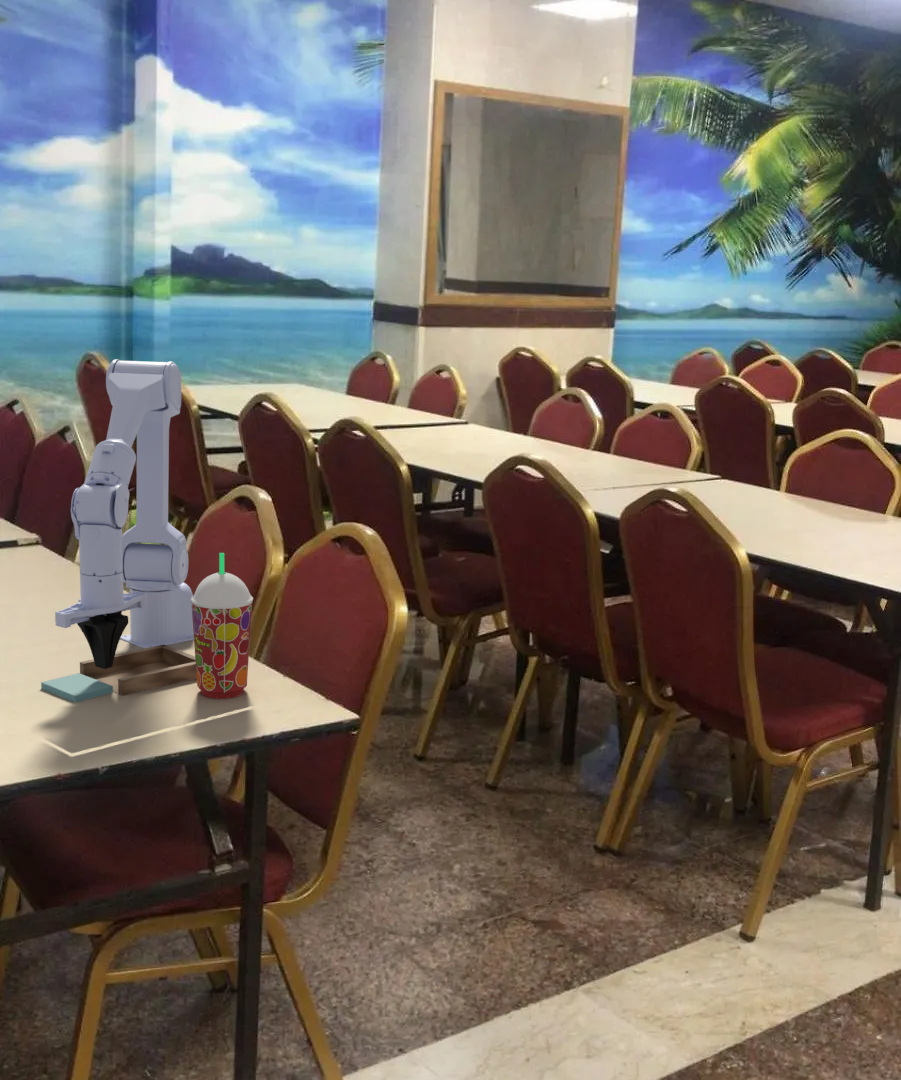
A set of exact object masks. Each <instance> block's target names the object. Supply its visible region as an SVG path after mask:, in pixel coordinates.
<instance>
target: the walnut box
mask: <svg viewBox="0 0 901 1080" xmlns="http://www.w3.org/2000/svg"><path fill="white" fill-rule="evenodd" d="M79 673H80V674H82V675H85V676H88V677H90V678H93V679H96V680H98V681H101V682H103V683H106V684H109V685H111V686H113V693H115V694H117V695H120V696H127V695H132V694H135V693H140V692H144V691H148V690H149V691H150V690H153V689H157V688H161V687H165V686H169V685H173V684H174V685H175V684H178V683H181V682H187V681H191V680H195V679H197V674H196V660H195V655H192V654H191V653H187V652H184V651H182V650H179V649H176V648H174V647H172V646H170V645H159V646H154V647H150V648H145V649H144V648H141V649H136V650H135V649H134V650H131V651H127V652H122V653H117V654H116V653H115V657H114V661H113V665H112V667H110V668H107V669H103V668H99V667H96V666H95V662H94V659H88V660H84V661H80V662H79Z"/></svg>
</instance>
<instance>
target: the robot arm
mask: <svg viewBox="0 0 901 1080" xmlns="http://www.w3.org/2000/svg"><path fill="white" fill-rule="evenodd" d="M179 368H180V367H178V365H177V364H176V363H175V361H171V360H170V361H145V360H144V361H142V360H140V361H139V360H121V359H118V358H117V359H113V360H112V361H111V362H110V363H109V365H108V367H107V369H106V374H105V375H106V376H105V388H106V392H107V395H108V397H109V402H110V405H111V406H112V408H111V413H110V419H109V422H108V423H109V424H108V427H107V428H108V429H107V434H106V438H105V440H102V441H101V442H98V444H96V445H95V448H94V451H93V454H92V458H91V461H90V463H89V468H88V469H87V473H86V475H85V479H84V482H83V484H82V485H81V486H80V487H77V488H75V489H74V491H73V493H72V497H71V502H70V503H71V504H70V516H71V521H72V523H73V527H74V536H75V539H77V540H78V545H79V546H78V550H79V551H78V552H79V556H78V557H79V559H78V560H79V581H80V582H79V584H80V585H79V587H80V598H78V602H76V603H74V604H72V605H70V606H68V607H66V608H63V609H61V610H57V611H55V612H54V615H55V616H54V617H55V619H54V620H55V627H60V628H62V629H63V628H64V629H67V628H71V627H72V626H73V625H76V624H77V626H78V627H79V628H80V630H81V632H82V633H83V636H84V637H85V639H86V641H87V644H88V646H89V649H90V652H91V655H92V658H93V659H94V662H95V666H96V667H99V668H103V669H107V668H110V667H112V665H113V661H114V657H115V655H116V652H117V649H118V646H119V642H120V640H122V641H124V642H127V643H129V644H131V645H134V646H136V647H139V648H141V649H145V648H150V647H154V646H159V645H167V646H170V645H175V644H179V643H184V642H188V641H189V642H190V641H194V632H193V619H192V603H191V598H192V596H194V594H193V592H192V591H193V590H192V589H191V587H190V586H189V585H188V584H187V583H186V582H185V581H186V579H187V577H188V571H189V554H188V550H187V549H188V548H187V547H188V546H187V539H186V536H185V535H184V533H182V532H181V531H180V530H178V529H177V528H175V527H174V526H173V525H172V524H171V523H170V522H169V478H170V477H169V471H170V470H169V469H170V466H169V463H170V462H169V461H170V459H169V457H170V453H169V452H170V451H169V449H170V448H169V447H170V441H169V440H170V424H171V418H173V417H175V416H177V415H180V414H181V407H182V375H181V372H180V369H179ZM135 440H136V453H135V451H134V449H133V448H132V447H133V445H134V441H135ZM135 464H136V511H135V512H136V521H135V522H136V524H135V525H133V526H132V527H130V528H129V529H127V530H126V531H125V532H123V527H124V526H125V524H126V522H127V519H128V515H129V514H128V513H129V500H130V491H129V486H130V485H129V484H130V482H131V477H132V474H133V471H134V468H135ZM124 584H125V587H126V589H129V593H128V592H127V593H124ZM126 611H129V616H130V617H129V616H127V615H125V614H123V612H126ZM129 620H130V621H129ZM129 623H130V627H129V628H130V634H125V635H123V633H124V631H125V629H126V628H127V625H128V624H129ZM93 659H92V660H93Z"/></svg>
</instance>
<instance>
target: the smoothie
mask: <svg viewBox="0 0 901 1080" xmlns="http://www.w3.org/2000/svg"><path fill="white" fill-rule="evenodd" d="M218 555H219V556H218V557H219V559H218V560H219V561H218V562H219V563H218V564H219V565H218V566H219V567H218V569H219V571H218V572H215V573H212V574H210V575H208V576H206V577H205V578H203V579H202V580H201V581H200V583H199V584H198V585H197V587H196V589H195V592H194V594H193V596H192V598H191V603H192V619H193V632H194V640H193V643H194V656H195V660H196V674H197V678H196V685H197V688H198V689H199V690H200V694H201V695H202V696H204V697H206V698H210V699H218V700H219V699H223V700H224V699H225V700H226V699H232V698H236V697H239V696H241V695H243V694H244V689H245V688H246V687H247V686H248V675H249V674H248V673H249V671H248V670H249V661H250V660H249V657H250V644H251V643H250V641H251V628H252V626H251V625H252V612H253V611H252V609H253V600H254V597H253V596H252V595H251V593H250V591H249V589H248V587H247V586H246V584H245V582H244V581H243V580H242V579H241V578H239V576H237V575H235V574H233V573H229V572H226V571H225V553H224V552H219V553H218Z"/></svg>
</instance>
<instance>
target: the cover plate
mask: <svg viewBox="0 0 901 1080" xmlns="http://www.w3.org/2000/svg"><path fill="white" fill-rule="evenodd" d="M40 685H41V690H44V691H46V692H49V693H52V694H53V695H55V696H59V697H61V698H64V699H66V700H68V701H71V702H73V703H77V702H82V701H86V700H89V699H94V698H97V697H100V696H101V697H102V696H104V695H108V694H112V693H114V692H113V686H111V685H109V684H106V683H103V682H101V681H98V680H96V679H93V678H90V677H88V676H85V675H82V674H80V672H78V673H74V674H70V675H66V676H61V677H58V678H54V679H49V680H45V681H41V683H40Z"/></svg>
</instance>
